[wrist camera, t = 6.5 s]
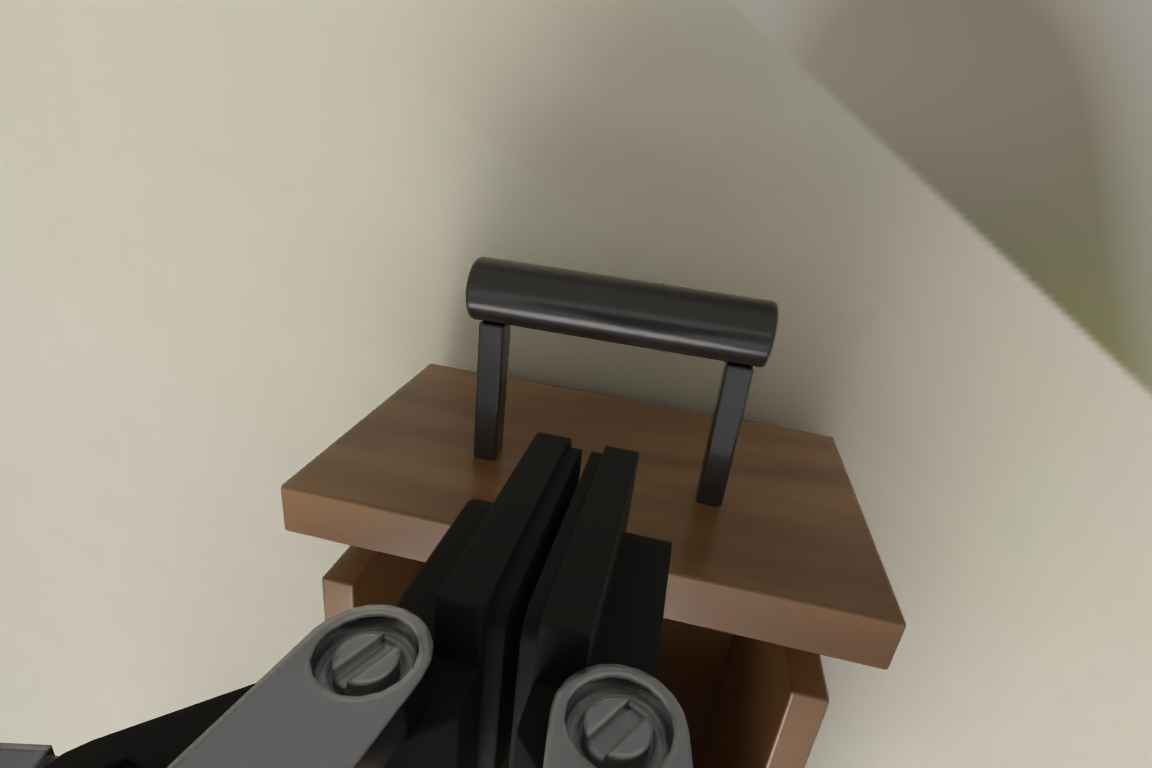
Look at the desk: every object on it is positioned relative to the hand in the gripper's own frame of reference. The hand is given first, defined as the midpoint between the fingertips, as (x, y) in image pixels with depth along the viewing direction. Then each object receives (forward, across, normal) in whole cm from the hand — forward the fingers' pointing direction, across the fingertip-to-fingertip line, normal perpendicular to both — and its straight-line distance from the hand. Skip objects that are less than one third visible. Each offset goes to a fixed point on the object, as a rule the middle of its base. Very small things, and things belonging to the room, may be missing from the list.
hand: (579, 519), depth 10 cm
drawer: (+9, 0, +6) cm, 11 cm away
